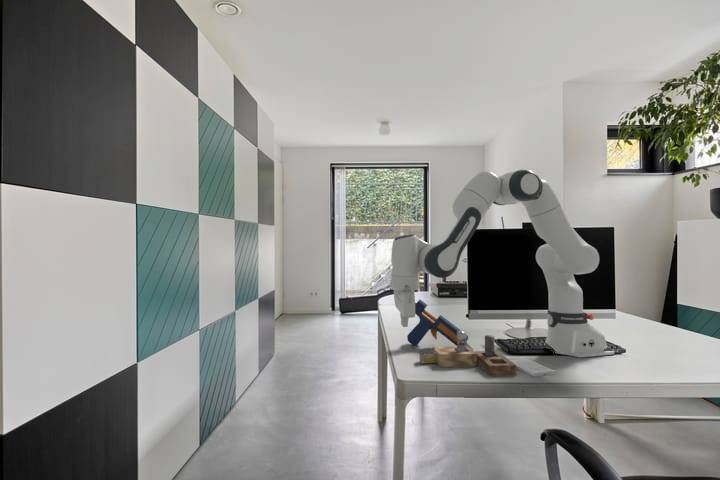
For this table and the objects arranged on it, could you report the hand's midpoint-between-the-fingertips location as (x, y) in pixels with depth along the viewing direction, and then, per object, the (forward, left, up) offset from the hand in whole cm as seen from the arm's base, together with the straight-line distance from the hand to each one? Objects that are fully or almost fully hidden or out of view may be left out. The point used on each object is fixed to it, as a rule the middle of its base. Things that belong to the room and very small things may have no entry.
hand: (404, 326), depth 133 cm
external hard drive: (-39, +8, -13) cm, 41 cm away
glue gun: (-16, -19, -13) cm, 28 cm away
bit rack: (-28, +6, -12) cm, 31 cm away
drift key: (-9, 0, -12) cm, 15 cm away
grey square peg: (-19, 0, -12) cm, 23 cm away
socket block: (-17, 0, -12) cm, 20 cm away
